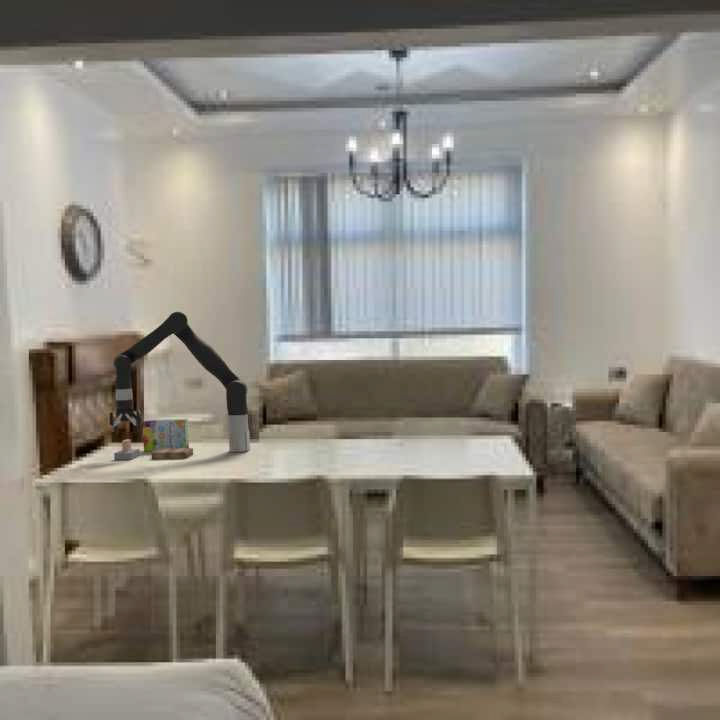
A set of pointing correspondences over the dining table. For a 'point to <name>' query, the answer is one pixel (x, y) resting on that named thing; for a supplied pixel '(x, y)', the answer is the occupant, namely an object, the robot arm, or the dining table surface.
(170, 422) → the snack box
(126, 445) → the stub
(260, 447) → the dining table surface
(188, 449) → the board
